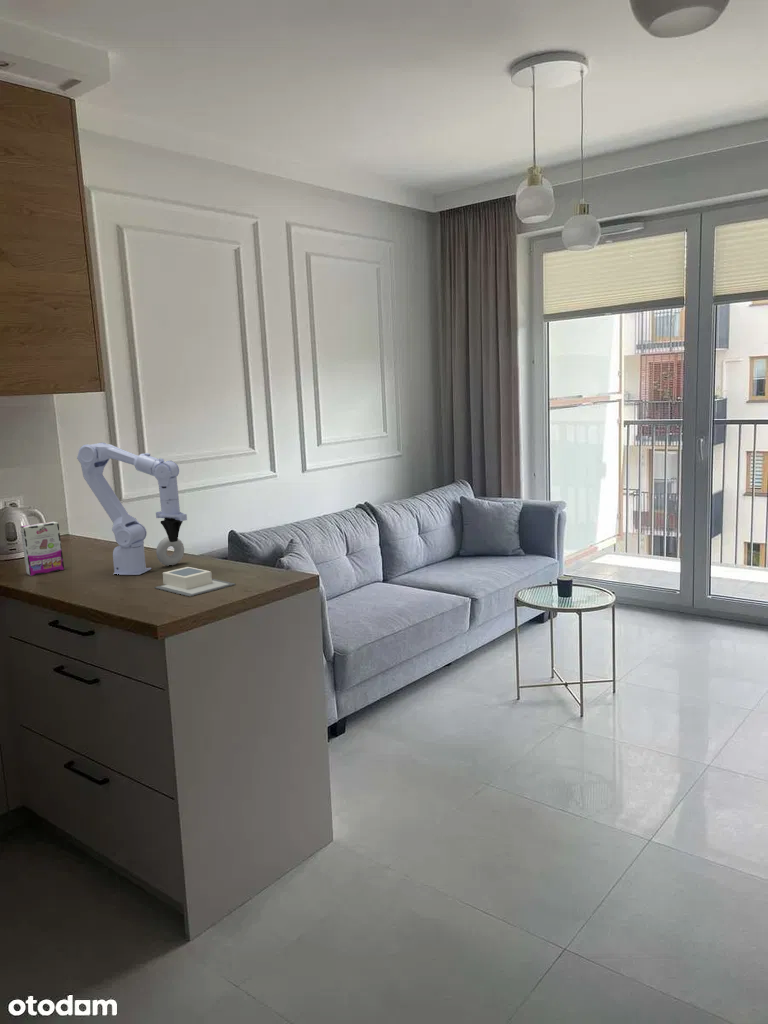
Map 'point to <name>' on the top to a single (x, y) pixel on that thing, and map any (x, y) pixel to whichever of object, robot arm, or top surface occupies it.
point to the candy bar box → (42, 548)
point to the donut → (162, 551)
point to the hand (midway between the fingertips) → (173, 541)
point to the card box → (187, 577)
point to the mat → (196, 588)
